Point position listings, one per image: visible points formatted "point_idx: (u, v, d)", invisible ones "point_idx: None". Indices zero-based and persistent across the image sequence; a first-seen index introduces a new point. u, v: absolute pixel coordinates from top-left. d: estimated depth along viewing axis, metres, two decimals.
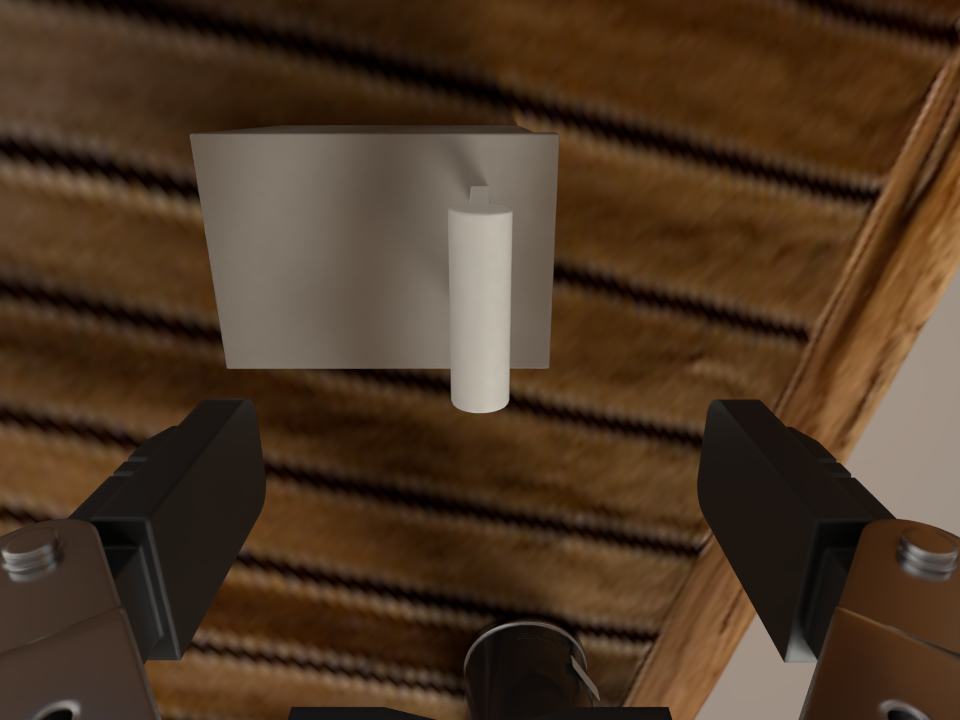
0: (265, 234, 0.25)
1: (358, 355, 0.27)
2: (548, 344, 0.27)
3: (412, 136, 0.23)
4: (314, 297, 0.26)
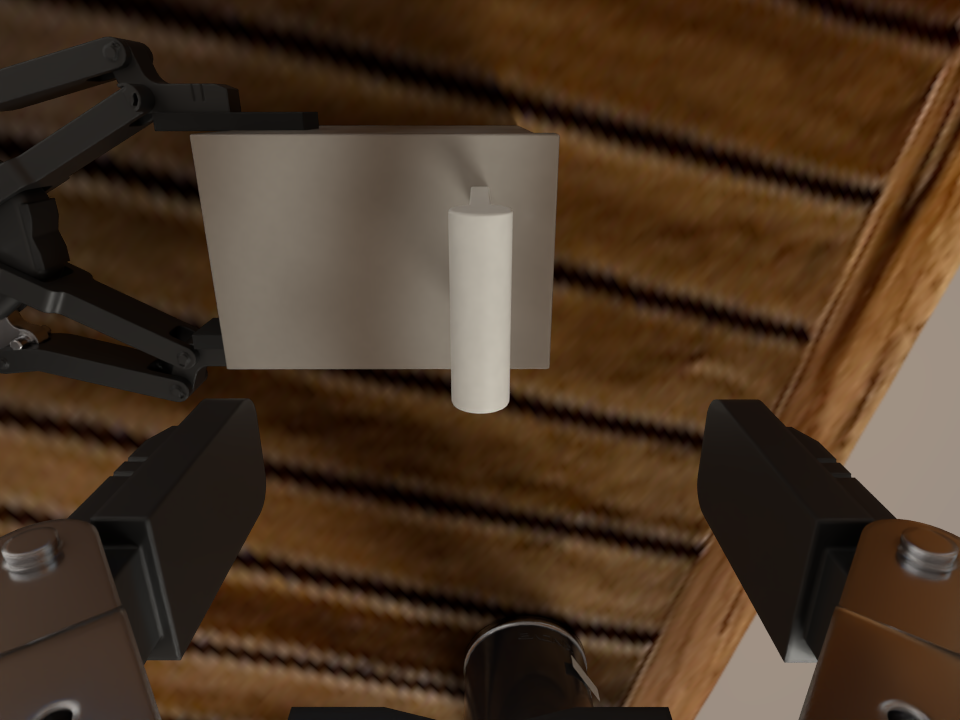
0: (265, 234, 0.25)
1: (358, 355, 0.27)
2: (548, 344, 0.27)
3: (412, 136, 0.24)
4: (314, 297, 0.26)
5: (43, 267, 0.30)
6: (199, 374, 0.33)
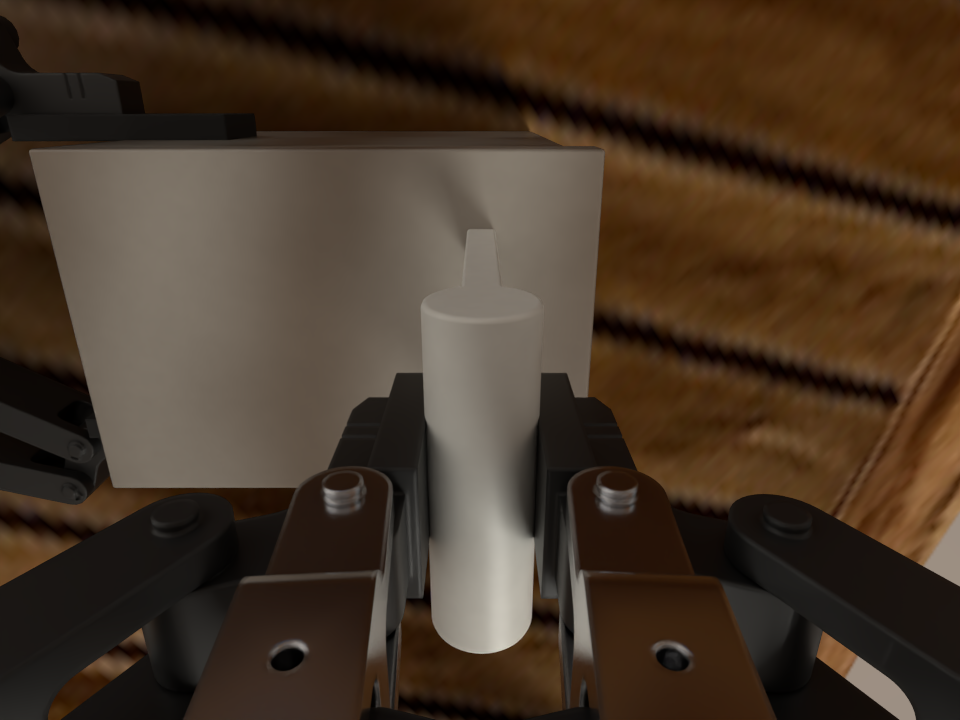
0: (157, 300, 0.16)
1: (303, 470, 0.18)
2: None
3: (376, 153, 0.15)
4: (235, 390, 0.17)
5: None
6: (104, 465, 0.25)
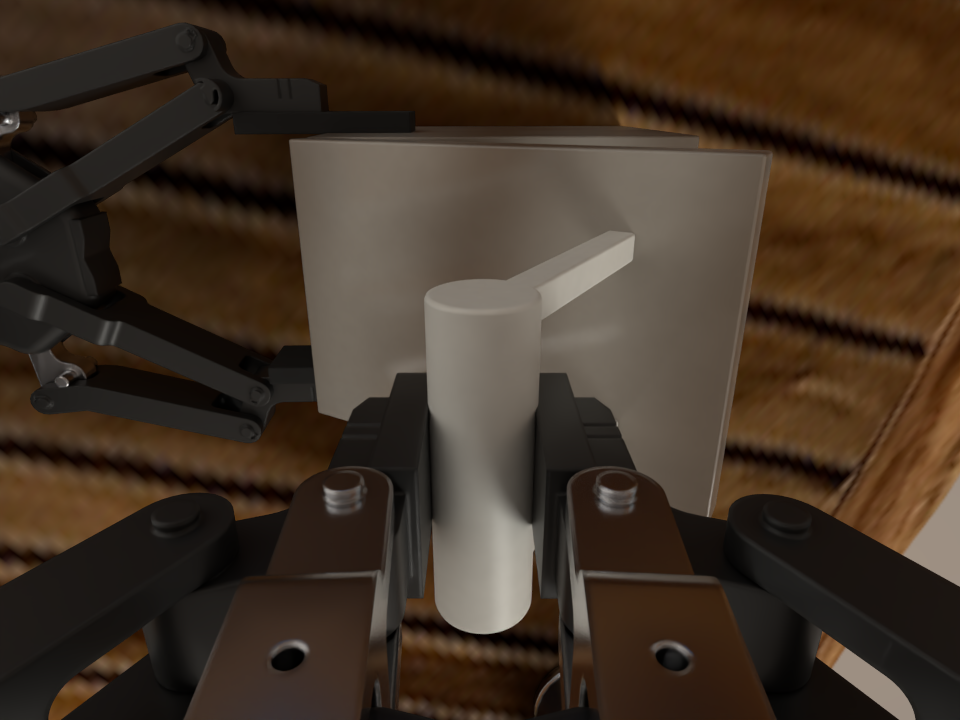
0: (356, 266, 0.20)
1: None
2: (709, 491, 0.16)
3: (530, 150, 0.16)
4: (403, 351, 0.20)
5: (96, 293, 0.26)
6: (270, 410, 0.29)
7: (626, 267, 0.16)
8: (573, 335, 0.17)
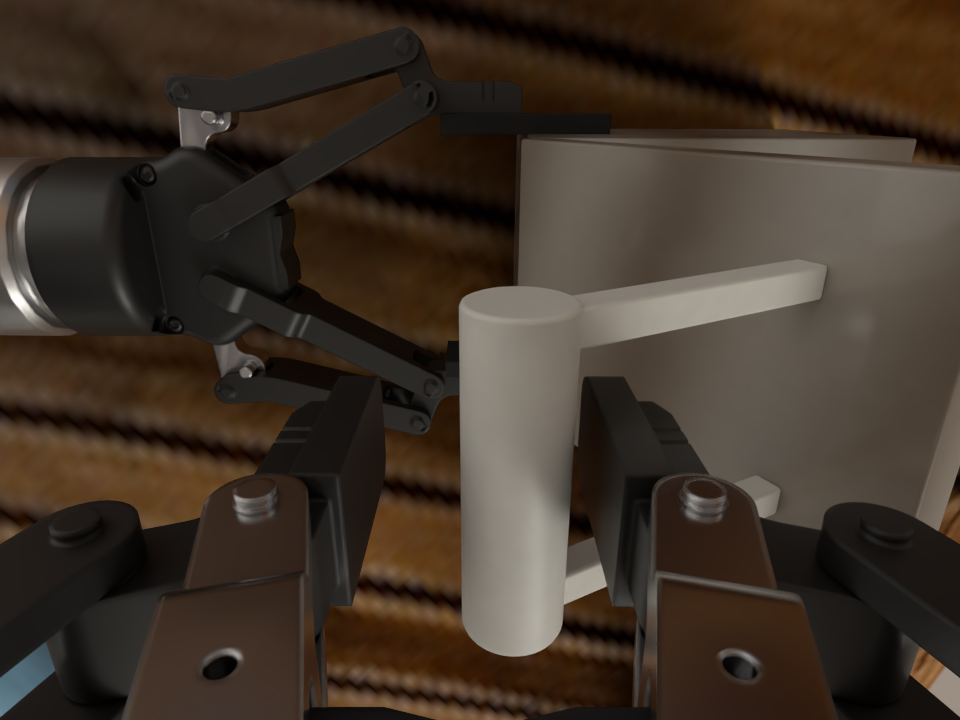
0: (558, 266, 0.20)
1: None
2: None
3: (724, 158, 0.14)
4: (585, 359, 0.20)
5: (287, 286, 0.27)
6: None
7: (813, 305, 0.13)
8: (744, 375, 0.14)
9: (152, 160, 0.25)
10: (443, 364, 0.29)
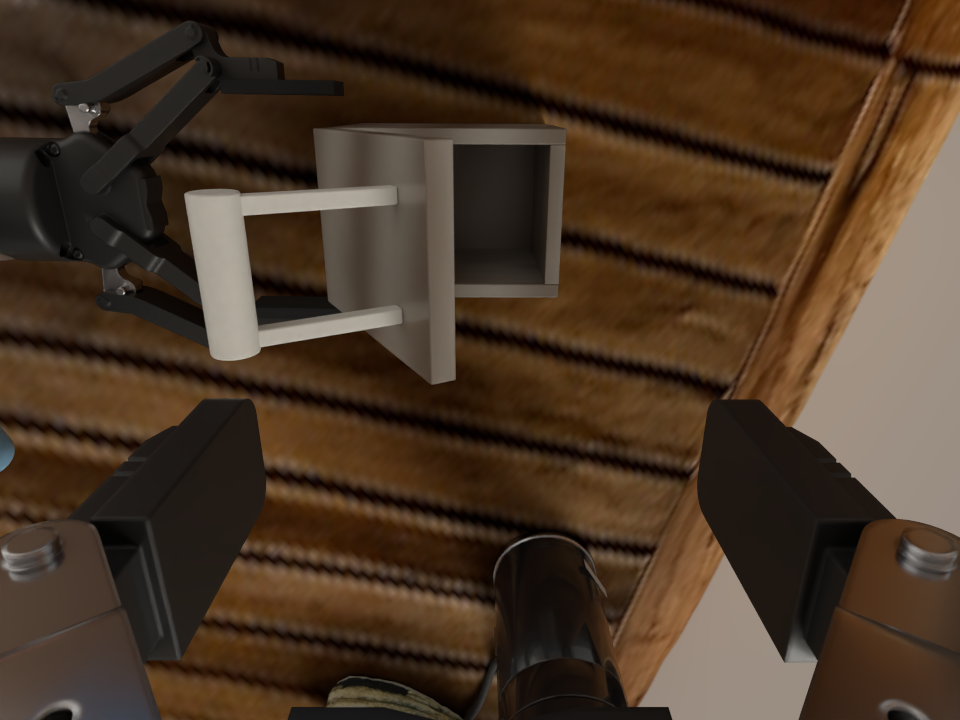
0: None
1: None
2: (429, 359, 0.25)
3: (369, 136, 0.27)
4: (346, 261, 0.32)
5: (153, 227, 0.40)
6: None
7: (397, 208, 0.25)
8: (387, 251, 0.27)
9: (58, 140, 0.38)
10: None
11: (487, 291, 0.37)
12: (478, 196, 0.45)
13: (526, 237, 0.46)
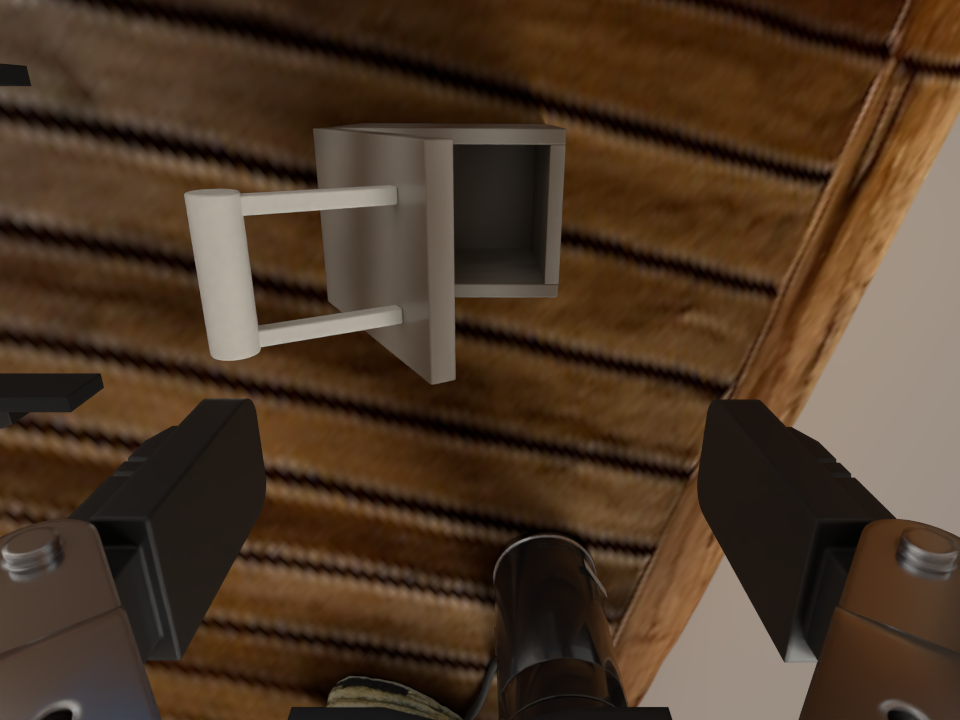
0: None
1: None
2: (429, 359, 0.25)
3: (369, 136, 0.27)
4: (346, 261, 0.32)
5: None
6: None
7: (397, 208, 0.25)
8: (387, 251, 0.27)
9: None
10: None
11: (487, 291, 0.37)
12: (478, 196, 0.45)
13: (526, 237, 0.46)
